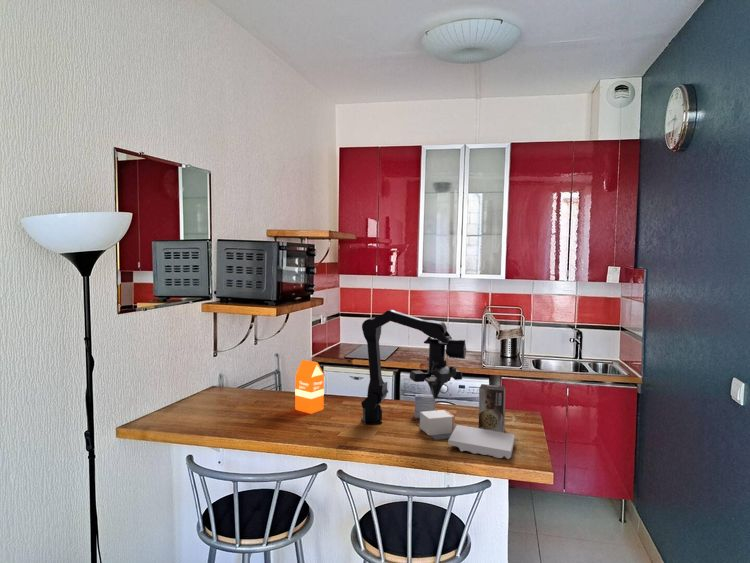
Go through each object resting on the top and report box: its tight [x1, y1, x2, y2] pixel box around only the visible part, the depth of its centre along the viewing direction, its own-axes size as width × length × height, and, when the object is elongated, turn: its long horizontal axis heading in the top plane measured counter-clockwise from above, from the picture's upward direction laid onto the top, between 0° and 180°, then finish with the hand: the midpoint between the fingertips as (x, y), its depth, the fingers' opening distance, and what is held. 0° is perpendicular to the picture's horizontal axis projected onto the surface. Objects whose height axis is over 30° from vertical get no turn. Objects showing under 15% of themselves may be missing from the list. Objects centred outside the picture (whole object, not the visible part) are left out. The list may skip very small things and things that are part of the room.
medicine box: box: [414, 393, 436, 419], centre depth 202 cm, size 8×4×9 cm, turn 84°
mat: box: [416, 423, 458, 441], centre depth 187 cm, size 14×16×1 cm
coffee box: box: [477, 383, 506, 433], centre depth 188 cm, size 9×6×16 cm
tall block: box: [419, 409, 456, 436], centre depth 186 cm, size 6×8×10 cm
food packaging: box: [447, 424, 516, 460], centre depth 172 cm, size 15×3×20 cm
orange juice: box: [294, 359, 325, 415], centre depth 208 cm, size 8×9×20 cm
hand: (435, 398), depth 187 cm, fingers closed
